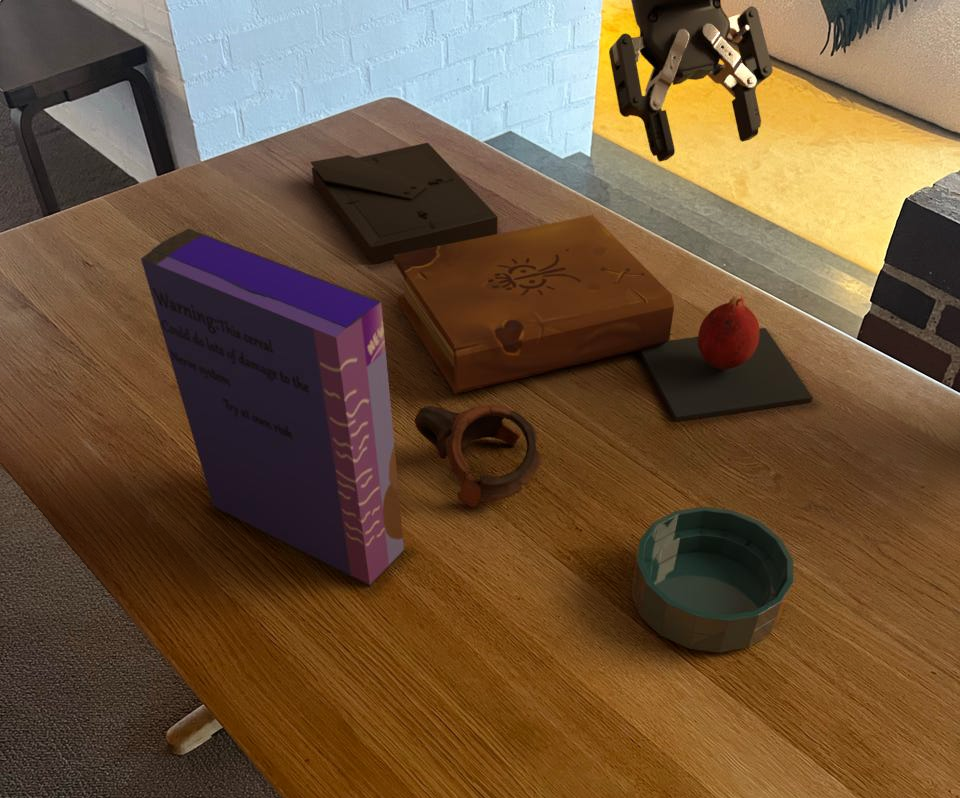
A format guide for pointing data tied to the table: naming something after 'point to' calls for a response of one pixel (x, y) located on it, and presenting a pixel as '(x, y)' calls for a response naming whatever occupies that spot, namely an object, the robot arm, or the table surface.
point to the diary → (531, 302)
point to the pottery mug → (470, 425)
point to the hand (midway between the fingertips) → (709, 148)
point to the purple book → (283, 399)
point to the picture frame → (402, 201)
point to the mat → (722, 380)
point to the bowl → (711, 579)
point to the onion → (729, 335)
